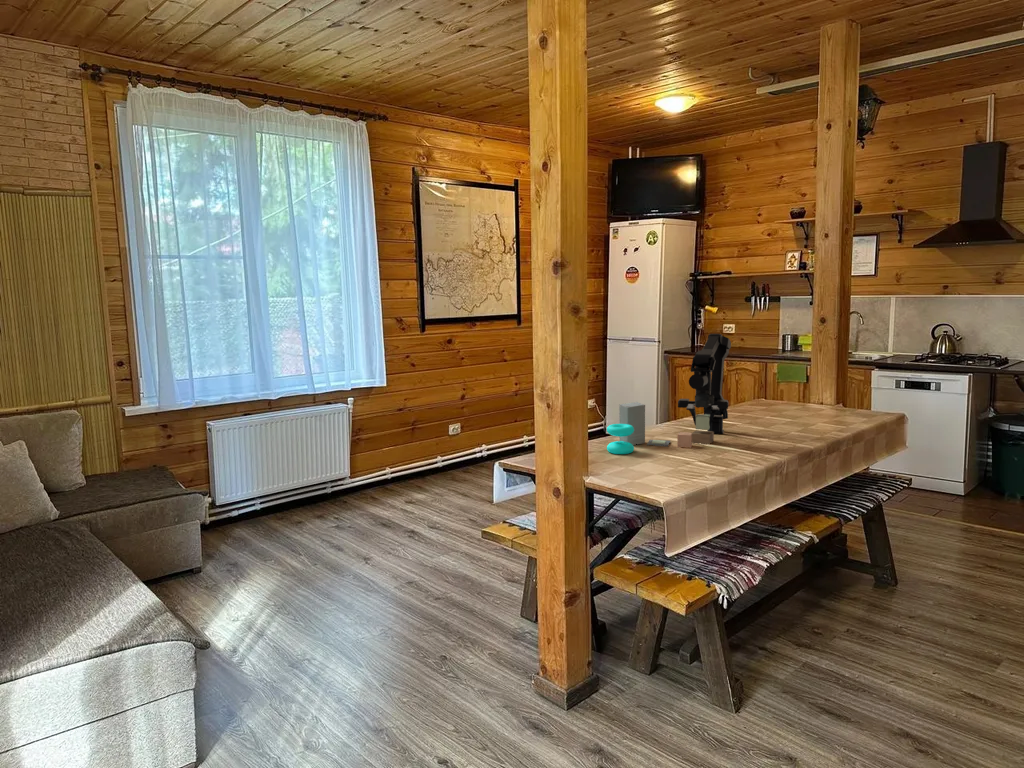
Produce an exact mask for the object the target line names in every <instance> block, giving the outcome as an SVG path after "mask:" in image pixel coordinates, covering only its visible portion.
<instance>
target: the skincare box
mask: <svg viewBox="0 0 1024 768" xmlns="http://www.w3.org/2000/svg"><path fill="white" fill-rule="evenodd" d="M618 406H619V409H618V410H619V413H618V414H619V418H618V419H619V420H618V421H619V422H618V423H619V424H629V425H631V426H633V427H634V432H633V433H632V434H631V435H629V436H623V437H619V441H625V442H629V443H631V444H632V445H633V446H635V445H636V444H637V445H642V444H645V443H646V404H645V403H641V402H638V401H635V402H629V403H622V404H619V405H618Z"/></svg>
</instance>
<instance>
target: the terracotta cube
mask: <svg viewBox="0 0 1024 768" xmlns="http://www.w3.org/2000/svg"><path fill="white" fill-rule="evenodd" d="M692 433H693V432H690V431H688V432H687V431H686V432H684V431H682V432H681V431H678V433H677V436H676V437H677V440H676V441H677V448H679V447H690V448H689V449H692V446H693V443H692Z"/></svg>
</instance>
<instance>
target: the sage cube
mask: <svg viewBox="0 0 1024 768" xmlns="http://www.w3.org/2000/svg"><path fill="white" fill-rule="evenodd" d="M709 421H710V415H704V414H700V413H699V414H697V413H696V426H695V430H700V431H707V430H709V428H710V426H709Z"/></svg>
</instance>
